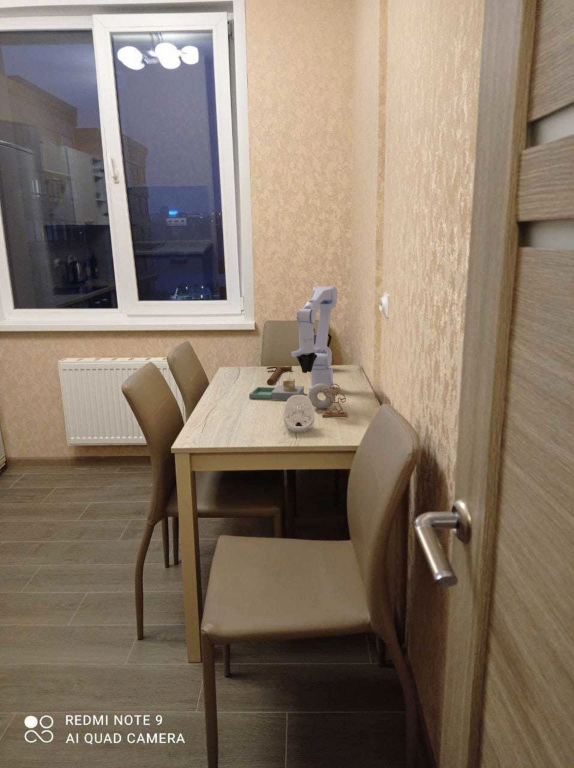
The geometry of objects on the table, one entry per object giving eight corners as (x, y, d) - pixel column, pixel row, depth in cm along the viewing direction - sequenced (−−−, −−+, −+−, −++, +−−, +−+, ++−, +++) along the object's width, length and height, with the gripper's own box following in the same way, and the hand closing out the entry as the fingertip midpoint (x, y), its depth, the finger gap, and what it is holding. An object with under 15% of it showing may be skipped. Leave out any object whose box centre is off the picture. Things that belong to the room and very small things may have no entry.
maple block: (294, 388, 231) (294, 378, 230) (292, 390, 227) (292, 381, 227) (285, 387, 232) (285, 378, 231) (283, 390, 228) (283, 380, 227)
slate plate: (303, 393, 235) (303, 386, 234) (298, 400, 224) (298, 393, 223) (278, 392, 237) (278, 385, 237) (271, 399, 226) (271, 392, 225)
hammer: (280, 385, 250) (291, 371, 278) (280, 378, 249) (291, 365, 277) (254, 385, 252) (268, 371, 280) (254, 378, 251) (268, 365, 280)
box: (277, 392, 238) (277, 387, 237) (270, 399, 226) (270, 394, 226) (257, 391, 239) (257, 386, 239) (249, 398, 228) (249, 394, 228)
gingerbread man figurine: (346, 414, 205) (347, 382, 202) (346, 417, 201) (347, 385, 198) (322, 414, 205) (322, 382, 203) (322, 417, 202) (322, 385, 199)
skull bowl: (313, 415, 199) (314, 391, 191) (314, 446, 190) (315, 423, 181) (283, 415, 200) (283, 392, 191) (283, 447, 190) (282, 423, 181)
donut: (307, 409, 211) (307, 384, 209) (309, 407, 215) (309, 381, 212) (334, 410, 209) (334, 384, 207) (335, 408, 213) (335, 382, 210)
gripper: (313, 335, 231) (313, 368, 234) (286, 339, 222) (286, 373, 225) (325, 337, 225) (325, 370, 228) (297, 341, 216) (297, 376, 220)
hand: (306, 372), depth 226 cm, fingers closed
